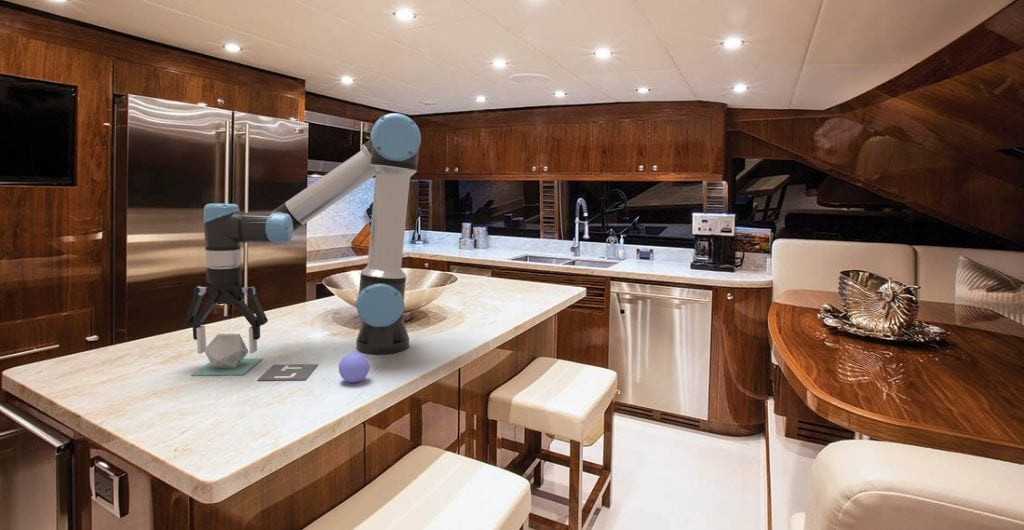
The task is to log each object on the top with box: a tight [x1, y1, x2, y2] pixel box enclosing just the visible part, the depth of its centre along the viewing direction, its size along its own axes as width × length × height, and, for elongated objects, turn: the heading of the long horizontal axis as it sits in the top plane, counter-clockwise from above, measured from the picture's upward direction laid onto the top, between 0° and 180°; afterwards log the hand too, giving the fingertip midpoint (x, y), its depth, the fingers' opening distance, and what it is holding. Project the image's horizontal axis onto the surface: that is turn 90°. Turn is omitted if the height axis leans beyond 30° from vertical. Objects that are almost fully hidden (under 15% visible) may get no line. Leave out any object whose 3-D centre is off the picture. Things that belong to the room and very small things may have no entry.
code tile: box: [256, 363, 318, 382], centre depth 125 cm, size 11×11×1 cm
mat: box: [190, 357, 263, 377], centre depth 128 cm, size 12×12×1 cm
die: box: [204, 333, 250, 368], centre depth 127 cm, size 8×9×10 cm
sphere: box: [338, 352, 370, 383], centre depth 121 cm, size 7×7×7 cm
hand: (227, 352), depth 127 cm, fingers open, 11 cm apart
